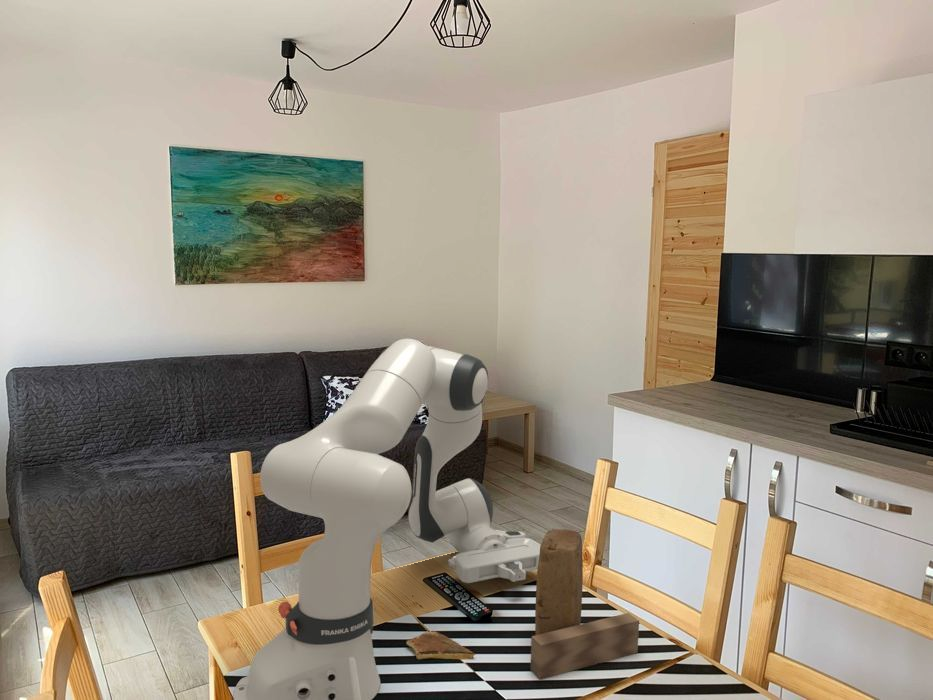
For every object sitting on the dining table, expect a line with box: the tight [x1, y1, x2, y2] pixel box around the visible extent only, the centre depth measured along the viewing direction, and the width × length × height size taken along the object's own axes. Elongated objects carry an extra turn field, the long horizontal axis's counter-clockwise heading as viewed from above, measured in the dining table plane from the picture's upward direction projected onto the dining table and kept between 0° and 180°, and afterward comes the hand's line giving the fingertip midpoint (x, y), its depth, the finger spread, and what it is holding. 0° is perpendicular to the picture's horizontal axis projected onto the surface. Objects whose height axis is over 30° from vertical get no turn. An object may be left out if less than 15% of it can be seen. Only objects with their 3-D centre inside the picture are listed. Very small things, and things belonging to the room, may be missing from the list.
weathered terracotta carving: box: [534, 528, 584, 636], centre depth 127 cm, size 11×8×20 cm
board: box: [530, 612, 640, 680], centre depth 122 cm, size 20×3×6 cm, turn 115°
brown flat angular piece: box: [406, 630, 476, 660], centre depth 123 cm, size 11×8×2 cm
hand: (519, 577), depth 142 cm, fingers closed
